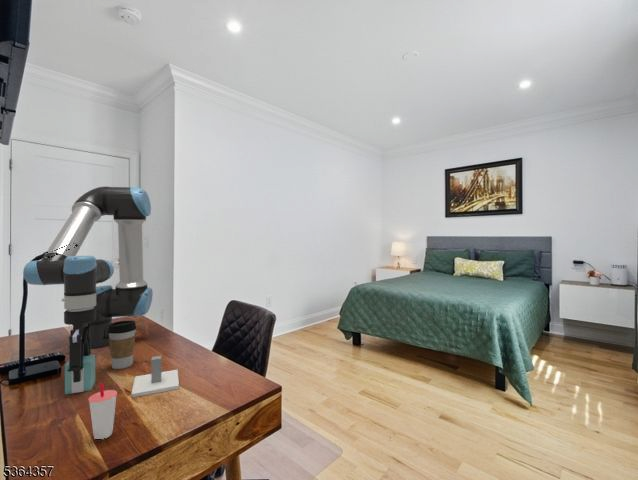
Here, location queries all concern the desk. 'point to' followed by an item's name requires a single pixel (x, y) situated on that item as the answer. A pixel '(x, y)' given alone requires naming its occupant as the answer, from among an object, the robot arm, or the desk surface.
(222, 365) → the desk surface
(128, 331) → the coffee cup
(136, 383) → the post stand
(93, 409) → the cup
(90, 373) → the teal rectangular block
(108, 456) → the desk surface
